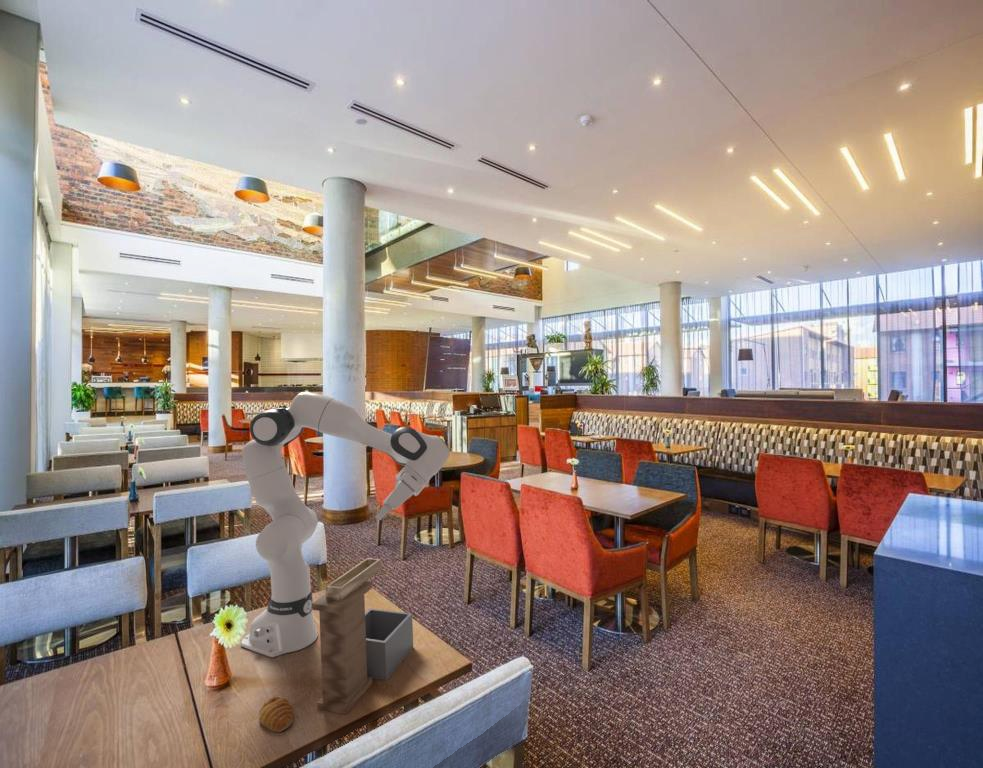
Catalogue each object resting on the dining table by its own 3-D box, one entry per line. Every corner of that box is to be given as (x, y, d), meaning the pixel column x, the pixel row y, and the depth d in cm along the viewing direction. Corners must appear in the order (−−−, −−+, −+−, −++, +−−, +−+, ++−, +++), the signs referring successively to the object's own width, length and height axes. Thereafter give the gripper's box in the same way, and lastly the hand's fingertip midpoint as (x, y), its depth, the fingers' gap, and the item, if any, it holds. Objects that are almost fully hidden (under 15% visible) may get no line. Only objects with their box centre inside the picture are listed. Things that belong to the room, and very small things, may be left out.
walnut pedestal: (315, 710, 116) (311, 603, 116) (349, 675, 130) (345, 579, 129) (344, 715, 114) (340, 607, 113) (375, 679, 127) (371, 582, 127)
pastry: (301, 723, 112) (300, 707, 112) (271, 740, 107) (270, 723, 107) (284, 705, 119) (283, 690, 119) (255, 720, 114) (255, 704, 114)
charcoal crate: (340, 672, 131) (339, 636, 131) (371, 640, 146) (370, 608, 146) (386, 680, 127) (385, 642, 127) (413, 647, 142) (412, 613, 142)
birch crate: (326, 598, 118) (325, 586, 118) (367, 568, 136) (367, 558, 136) (341, 600, 117) (341, 588, 117) (381, 569, 135) (380, 559, 135)
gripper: (399, 477, 155) (368, 511, 150) (404, 472, 136) (369, 511, 131) (413, 490, 155) (383, 524, 150) (421, 487, 136) (387, 526, 131)
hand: (377, 518), depth 141 cm, fingers open, 8 cm apart
